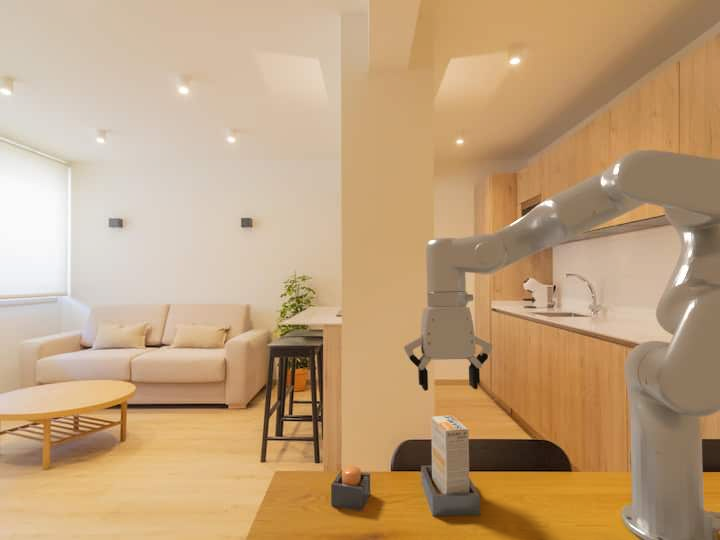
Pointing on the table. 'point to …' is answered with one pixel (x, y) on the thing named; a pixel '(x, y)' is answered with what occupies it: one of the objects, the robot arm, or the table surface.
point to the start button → (351, 476)
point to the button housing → (350, 493)
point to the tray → (449, 498)
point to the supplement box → (450, 455)
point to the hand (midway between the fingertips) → (449, 388)
